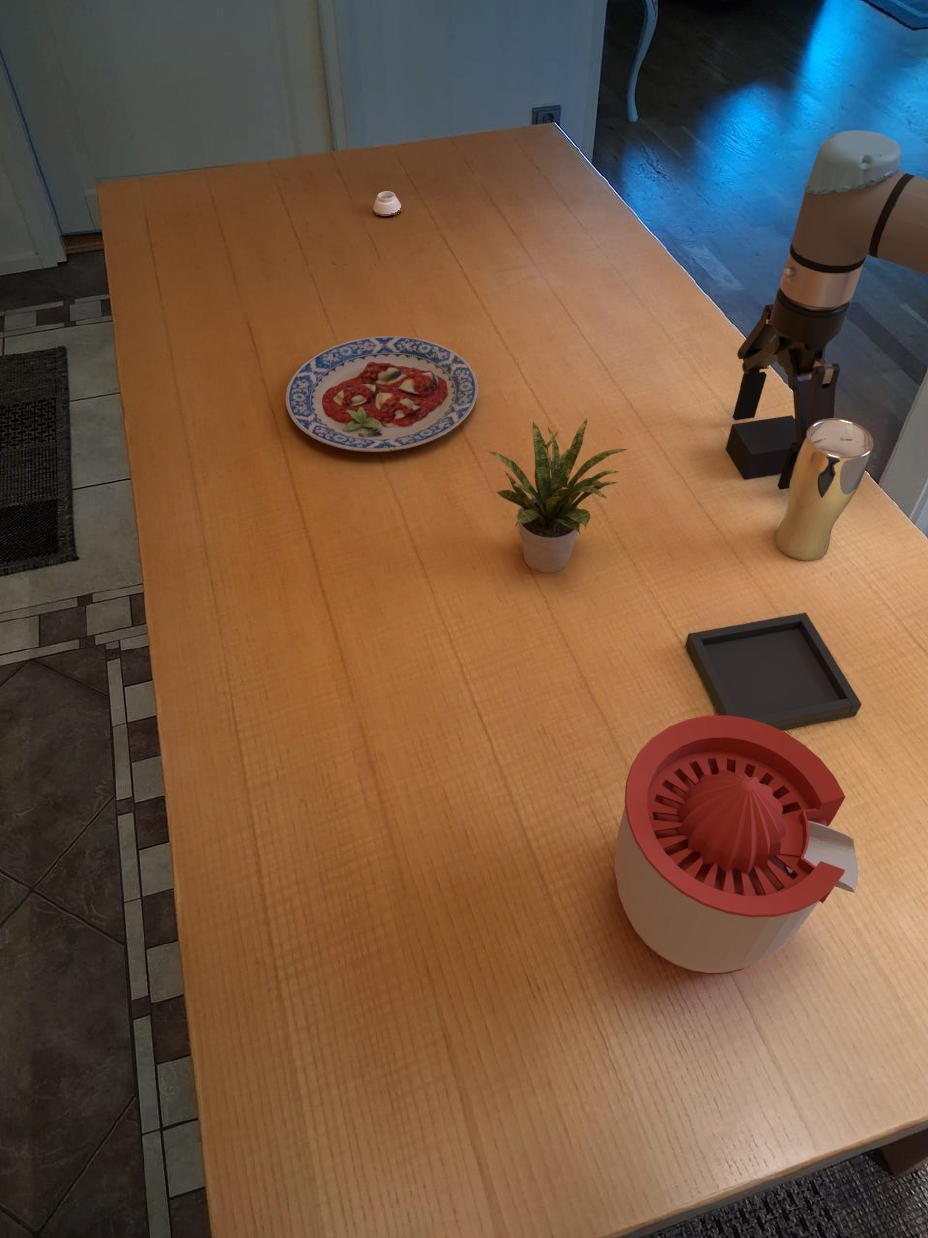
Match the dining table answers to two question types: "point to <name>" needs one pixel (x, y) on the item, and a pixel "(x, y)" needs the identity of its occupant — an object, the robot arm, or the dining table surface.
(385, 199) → the lidless jar
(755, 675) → the black square tray
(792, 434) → the black block
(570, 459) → the house plant
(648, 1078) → the dining table surface
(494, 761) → the dining table surface
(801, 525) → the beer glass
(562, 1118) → the dining table surface
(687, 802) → the citrus juicer
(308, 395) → the ceramic plate
